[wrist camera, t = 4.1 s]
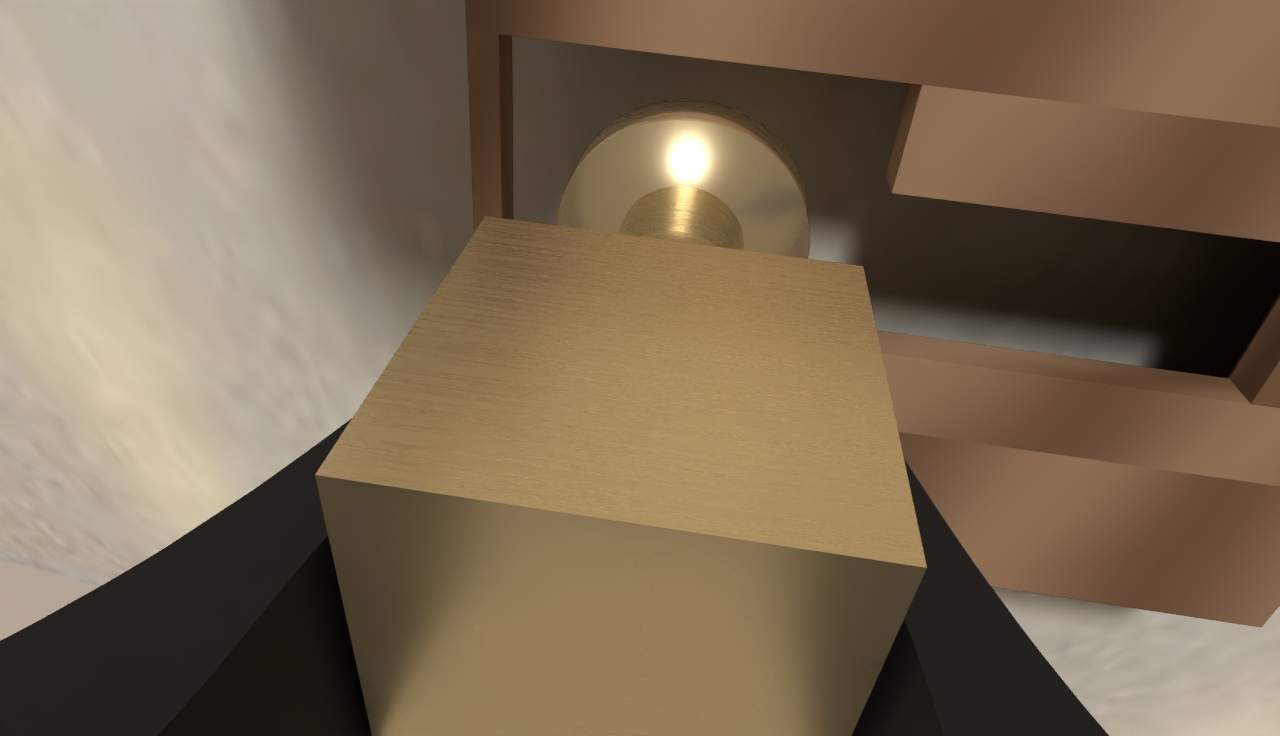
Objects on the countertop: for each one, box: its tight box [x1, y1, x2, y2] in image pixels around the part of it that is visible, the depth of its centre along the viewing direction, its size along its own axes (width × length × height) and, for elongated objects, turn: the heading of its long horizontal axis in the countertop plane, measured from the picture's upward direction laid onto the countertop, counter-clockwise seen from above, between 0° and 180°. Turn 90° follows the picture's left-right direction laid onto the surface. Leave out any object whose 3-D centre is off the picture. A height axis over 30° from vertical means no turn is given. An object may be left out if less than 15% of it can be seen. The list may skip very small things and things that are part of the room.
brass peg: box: [315, 99, 927, 736], centre depth 10 cm, size 4×4×9 cm
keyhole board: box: [466, 0, 1280, 627], centre depth 15 cm, size 17×14×4 cm
